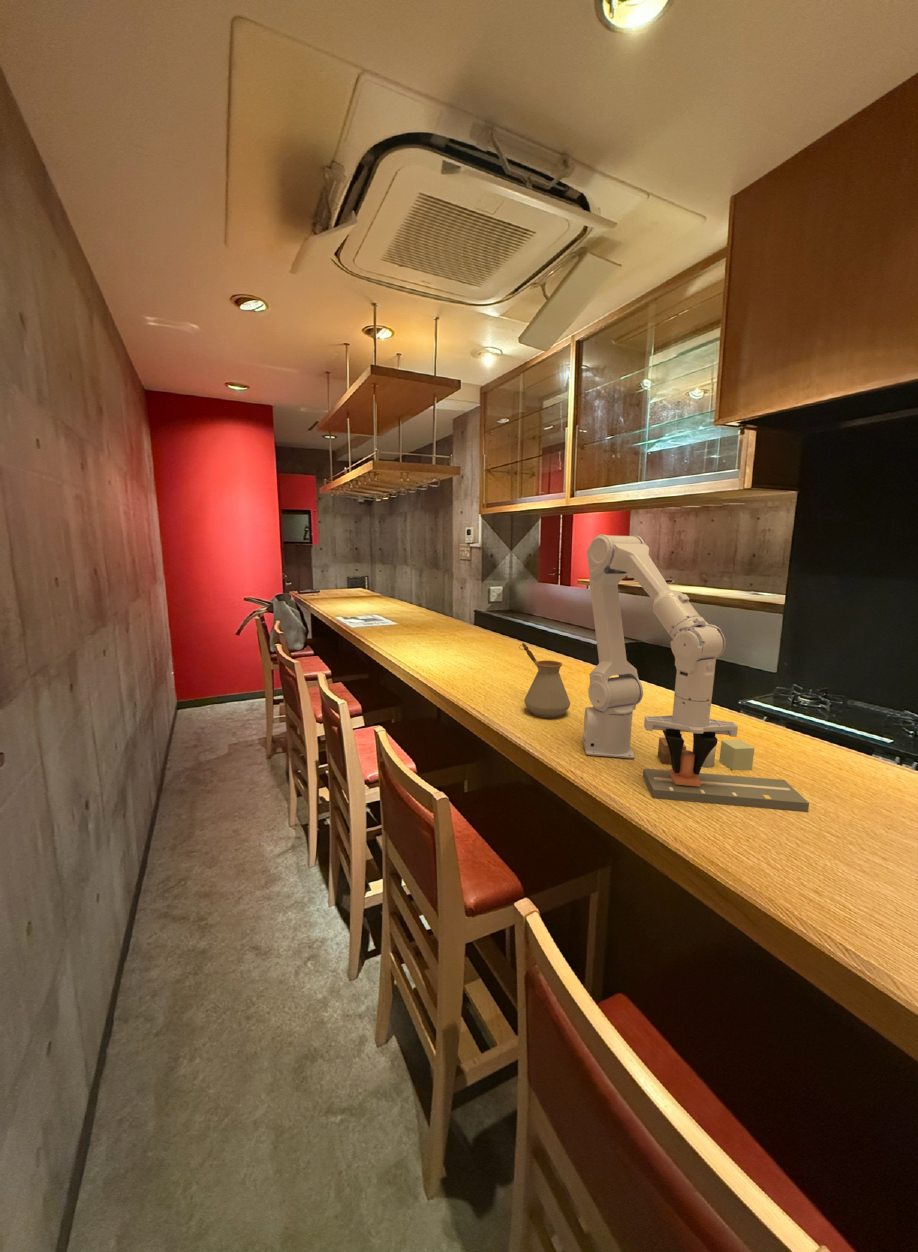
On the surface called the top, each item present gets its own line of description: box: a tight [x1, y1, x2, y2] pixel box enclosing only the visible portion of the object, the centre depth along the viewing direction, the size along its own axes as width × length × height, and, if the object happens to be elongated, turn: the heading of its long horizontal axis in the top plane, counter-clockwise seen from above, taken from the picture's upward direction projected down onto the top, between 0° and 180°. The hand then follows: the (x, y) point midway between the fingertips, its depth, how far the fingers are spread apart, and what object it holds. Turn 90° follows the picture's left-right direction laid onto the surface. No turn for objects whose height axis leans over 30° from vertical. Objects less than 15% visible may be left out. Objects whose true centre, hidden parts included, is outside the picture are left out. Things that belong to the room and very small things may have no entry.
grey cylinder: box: [691, 745, 717, 769], centre depth 96 cm, size 4×4×5 cm
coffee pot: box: [518, 642, 571, 719], centre depth 127 cm, size 21×12×15 cm, turn 18°
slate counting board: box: [642, 767, 810, 813], centre depth 84 cm, size 24×8×2 cm, turn 81°
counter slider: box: [668, 749, 701, 786], centre depth 85 cm, size 4×4×5 cm
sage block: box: [718, 739, 755, 772], centre depth 95 cm, size 4×4×4 cm
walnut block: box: [657, 737, 687, 766], centre depth 97 cm, size 4×4×4 cm
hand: (685, 771), depth 85 cm, fingers closed on counter slider, 3 cm apart
